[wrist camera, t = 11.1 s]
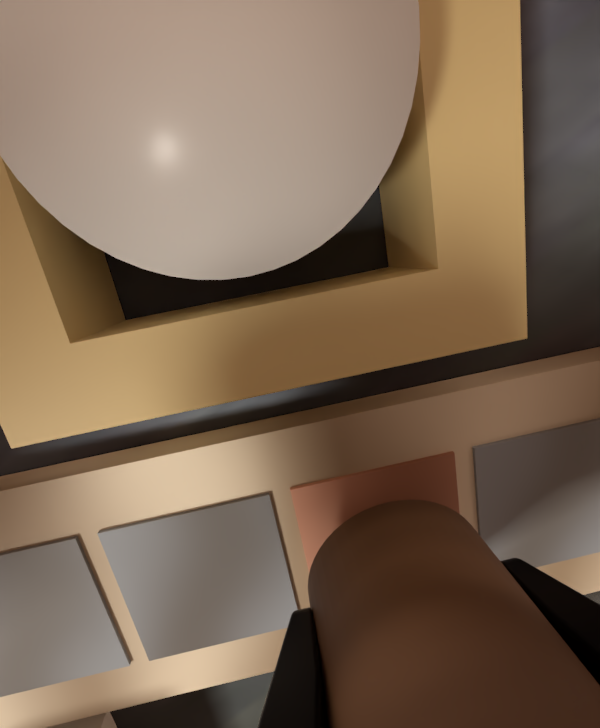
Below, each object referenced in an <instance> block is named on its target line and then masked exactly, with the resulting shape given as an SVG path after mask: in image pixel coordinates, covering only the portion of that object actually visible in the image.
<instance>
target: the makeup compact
mask: <svg viewBox="0 0 600 728" xmlns="http://www.w3.org/2000/svg"><path fill="white" fill-rule="evenodd" d="M398 500H425V501H430V502H435V503H438V504H441V505H444V506H447V507H449V508H450V509H452V510H454V511H456V512H457V513H459V514H460V515H462V516H463V517H464V518H465V519H466V520H467V521H468V522H469V523H470V524H471V525H472V526H473V528H474V529H475V530H476V531H477V533H478V534H479V535H480V536H481V538H482V539H483V540H484V541H485V543H486V544H487V545H488V546H489V548H490V549H491V550H492V551H493V553H494V554H495V555H496V556H497V558H498V559H499V560H500V561H503V560H507V559H511V558H519V559H522V560H523V561H525V562H527V563H529V564H530V565H532V566H534V567H536V568H537V569H539V570H541V571H543V572H544V573H546V574H548V575H549V576H551V577H553V578H555V579H556V580H558V581H560V582H562V583H563V584H565V585H567V586H569V587H570V588H572V589H574V590H576V591H577V592H579V593H581V594H583V595H584V594H588V593H593V592H597V591H600V347H596V348H591V349H586V350H582V351H577V352H573V353H568V354H563V355H559V356H554V357H549V358H545V359H540V360H536V361H531V362H526V363H522V364H517V365H512V366H508V367H503V368H499V369H494V370H489V371H485V372H480V373H476V374H471V375H466V376H462V377H457V378H452V379H448V380H443V381H439V382H434V383H429V384H425V385H420V386H416V387H411V388H406V389H402V390H397V391H392V392H388V393H383V394H379V395H374V396H369V397H365V398H360V399H356V400H351V401H346V402H342V403H337V404H332V405H328V406H323V407H319V408H314V409H309V410H305V411H300V412H295V413H291V414H286V415H282V416H277V417H272V418H268V419H263V420H259V421H254V422H249V423H245V424H240V425H235V426H231V427H226V428H222V429H217V430H212V431H208V432H203V433H199V434H194V435H189V436H185V437H180V438H175V439H171V440H166V441H162V442H157V443H152V444H148V445H143V446H139V447H134V448H129V449H125V450H120V451H115V452H111V453H106V454H102V455H97V456H92V457H88V458H83V459H78V460H74V461H69V462H65V463H60V464H55V465H51V466H46V467H42V468H37V469H32V470H28V471H23V472H18V473H14V474H9V475H5V476H0V728H46V727H50V726H54V725H58V724H62V723H66V722H70V721H74V720H78V719H82V718H86V717H90V716H94V715H98V714H102V713H106V712H110V711H115V710H119V709H123V708H127V707H131V706H135V705H139V704H143V703H147V702H151V701H155V700H159V699H163V698H167V697H171V696H175V695H179V694H183V693H187V692H192V691H196V690H200V689H204V688H208V687H212V686H216V685H220V684H224V683H228V682H232V681H236V680H240V679H244V678H248V677H252V676H256V675H260V674H264V673H268V672H273V671H275V667H276V664H277V661H278V657H279V654H280V651H281V647H282V644H283V641H284V637H285V634H286V631H287V627H288V624H289V621H290V617H291V615H292V613H293V612H294V611H295V610H299V609H303V608H308V607H310V603H309V595H308V577H309V572H310V568H311V565H312V563H313V560H314V558H315V556H316V554H317V552H318V550H319V549H320V547H321V546H322V544H323V543H324V542H325V540H326V539H327V538H328V537H329V536H330V535H331V534H332V532H333V531H334V530H336V529H337V528H338V527H339V526H340V525H341V524H343V523H344V522H345V521H347V520H348V519H350V518H351V517H353V516H354V515H356V514H358V513H360V512H362V511H364V510H366V509H368V508H371V507H374V506H376V505H379V504H383V503H387V502H392V501H398Z"/></svg>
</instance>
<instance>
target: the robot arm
mask: <svg viewBox="0 0 600 728" xmlns="http://www.w3.org/2000/svg"><path fill="white" fill-rule="evenodd" d="M501 563H502V564H503V565H504V566H505V568H506V569H507V570H508V571H509V573H510V574H511V575H512V576H513V578H514V579H515V580H516V581H517V583H518V584H519V585H520V586H521V588H522V589H523V590H524V591H525V593H526V594H527V595H528V596H529V598H530V599H531V600H532V601H533V603H534V604H535V605H536V606H537V608H538V609H539V610H540V611H541V613H542V614H543V615H544V616H545V618H546V619H547V620H548V621H549V623H550V624H551V625H552V626H553V628H554V629H555V630H556V631H557V633H558V634H559V635H560V636H561V637H562V639H563V640H564V641H565V642H566V644H567V645H568V646H569V647H570V649H571V650H572V651H573V652H574V654H575V655H576V656H577V657H578V659H579V660H580V661H581V662H582V664H583V665H584V666H585V667H586V669H587V670H588V671H589V672H590V674H591V675H592V676H593V677H594V679H595V680H596V681H597V682H598V684H599V685H600V604H598V603H596V602H595V601H593V600H591V599H589V598H588V597H586V596H584V595H583V594H581V593H579V592H577V591H576V590H574V589H572V588H570V587H569V586H567V585H565V584H563V583H562V582H560V581H558V580H556V579H555V578H553V577H551V576H549V575H548V574H546V573H544V572H543V571H541V570H539V569H537V568H536V567H534V566H532V565H530V564H529V563H527V562H525V561H523V560H522V559H519V558H511V559H507V560H503V561H501ZM257 728H329V727H328V719H327V712H326V703H325V693H324V684H323V676H322V669H321V663H320V656H319V649H318V643H317V636H316V630H315V623H314V616H313V610H312V608H310V607H308V608H303V609H299V610H295V611H294V612H293V613H292V615H291V617H290V621H289V624H288V627H287V631H286V634H285V637H284V641H283V644H282V647H281V651H280V654H279V657H278V661H277V664H276V667H275V671H274V674H273V677H272V681H271V684H270V687H269V691H268V694H267V697H266V701H265V704H264V707H263V711H262V714H261V717H260V720H259V724H258V727H257Z"/></svg>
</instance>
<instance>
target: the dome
mask: <svg viewBox="0 0 600 728" xmlns="http://www.w3.org/2000/svg"><path fill="white" fill-rule="evenodd" d="M419 51H420V19H419V2H418V0H0V156H1V157H2V159H3V160H4V162H5V163H6V164H7V166H8V167H9V168H10V170H11V171H12V173H13V174H14V175H15V177H16V178H17V179H18V181H19V182H20V183H21V184H22V185H23V186H24V187H25V188H26V189H27V190H28V192H29V193H30V194H31V195H32V196H33V197H34V198H35V199H36V200H37V202H38V203H39V204H40V205H41V206H42V207H44V208H45V209H46V210H47V211H48V212H49V213H50V214H51V215H53V216H54V217H55V218H56V219H57V220H58V221H59V222H60V223H62V224H63V225H64V226H65V227H67V228H68V229H69V230H71V231H72V232H74V233H75V234H76V235H78V236H79V237H81V238H82V239H84V240H85V241H86V242H88V243H89V244H91V245H93V246H95V247H96V248H98V249H100V250H102V251H104V252H105V253H107V254H109V255H111V256H113V257H115V258H117V259H119V260H122V261H124V262H127V263H129V264H132V265H134V266H137V267H139V268H141V269H145V270H148V271H152V272H156V273H160V274H163V275H167V276H172V277H179V278H187V279H194V280H226V279H234V278H242V277H249V276H253V275H257V274H260V273H264V272H268V271H271V270H275V269H277V268H279V267H282V266H284V265H286V264H289V263H291V262H294V261H296V260H298V259H300V258H301V257H303V256H305V255H307V254H308V253H310V252H312V251H313V250H315V249H317V248H318V247H320V246H321V245H323V244H324V243H325V242H326V241H328V240H329V239H330V238H331V237H333V236H334V235H335V234H337V233H338V232H339V231H340V230H341V229H342V228H343V227H344V226H345V225H346V224H347V223H348V222H349V221H350V220H351V219H352V218H353V217H354V216H355V215H356V214H357V213H358V212H359V211H360V210H361V208H362V207H363V206H364V204H365V203H366V202H367V200H368V199H369V198H370V197H371V195H372V194H373V193H374V191H375V190H376V189H377V187H378V185H379V183H380V182H381V180H382V178H383V177H384V175H385V173H386V171H387V170H388V168H389V166H390V165H391V162H392V160H393V158H394V155H395V153H396V151H397V149H398V146H399V144H400V142H401V139H402V137H403V134H404V131H405V127H406V124H407V121H408V117H409V114H410V111H411V108H412V103H413V97H414V92H415V87H416V81H417V76H418V64H419Z"/></svg>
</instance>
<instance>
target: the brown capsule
mask: <svg viewBox="0 0 600 728" xmlns="http://www.w3.org/2000/svg"><path fill="white" fill-rule="evenodd" d="M308 595H309V603H310V608H312V610H313V616H314V623H315V630H316V636H317V643H318V649H319V656H320V663H321V669H322V676H323V684H324V693H325V703H326V712H327V719H328V727H329V728H600V685H599V684H598V682H597V681H596V680H595V679H594V677H593V676H592V675H591V674H590V672H589V671H588V670H587V669H586V667H585V666H584V665H583V664H582V662H581V661H580V660H579V659H578V657H577V656H576V655H575V654H574V652H573V651H572V650H571V649H570V647H569V646H568V645H567V644H566V642H565V641H564V640H563V639H562V637H561V636H560V635H559V634H558V633H557V631H556V630H555V629H554V628H553V626H552V625H551V624H550V623H549V621H548V620H547V619H546V618H545V616H544V615H543V614H542V613H541V611H540V610H539V609H538V608H537V606H536V605H535V604H534V603H533V601H532V600H531V599H530V598H529V596H528V595H527V594H526V593H525V591H524V590H523V589H522V588H521V586H520V585H519V584H518V583H517V581H516V580H515V579H514V578H513V576H512V575H511V574H510V573H509V571H508V570H507V569H506V568H505V566H504V565H503V564H502V563H501V561H500V560H499V559H498V558H497V556H496V555H495V554H494V553H493V551H492V550H491V549H490V548H489V546H488V545H487V544H486V543H485V541H484V540H483V539H482V538H481V536H480V535H479V534H478V533H477V531H476V530H475V529H474V528H473V526H472V525H471V524H470V523H469V522H468V521H467V520H466V519H465V518H464V517H463V516H462V515H460V514H459V513H457V512H456V511H454V510H452V509H450V508H449V507H447V506H444V505H441V504H438V503H435V502H430V501H425V500H398V501H392V502H387V503H383V504H379V505H376V506H374V507H371V508H368V509H366V510H364V511H362V512H360V513H358V514H356V515H354V516H353V517H351V518H350V519H348V520H347V521H345V522H344V523H343V524H341V525H340V526H339V527H338V528H337V529H336V530H334V531H333V532H332V534H331V535H330V536H329V537H328V538H327V539H326V540H325V542H324V543H323V544H322V546H321V547H320V549H319V550H318V552H317V554H316V556H315V558H314V560H313V563H312V565H311V568H310V572H309V577H308Z"/></svg>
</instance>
